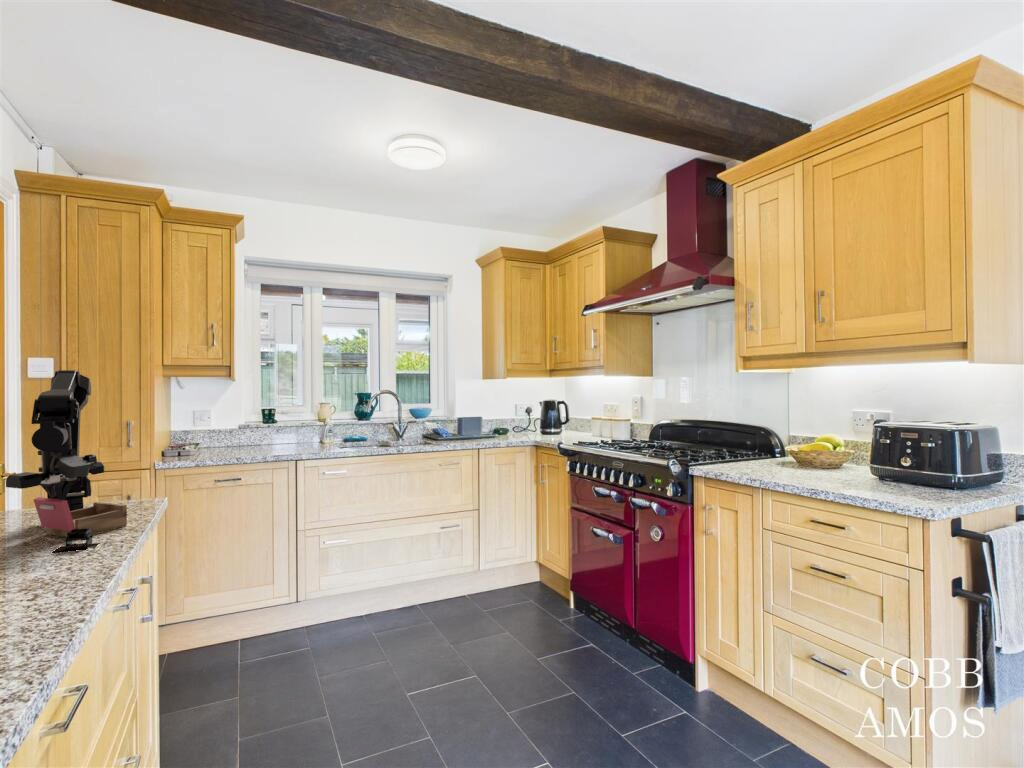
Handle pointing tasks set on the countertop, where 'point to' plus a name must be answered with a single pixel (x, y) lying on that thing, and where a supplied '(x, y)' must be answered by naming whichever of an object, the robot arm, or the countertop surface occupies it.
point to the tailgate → (54, 513)
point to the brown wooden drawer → (96, 518)
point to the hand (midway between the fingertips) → (59, 508)
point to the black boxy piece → (77, 535)
